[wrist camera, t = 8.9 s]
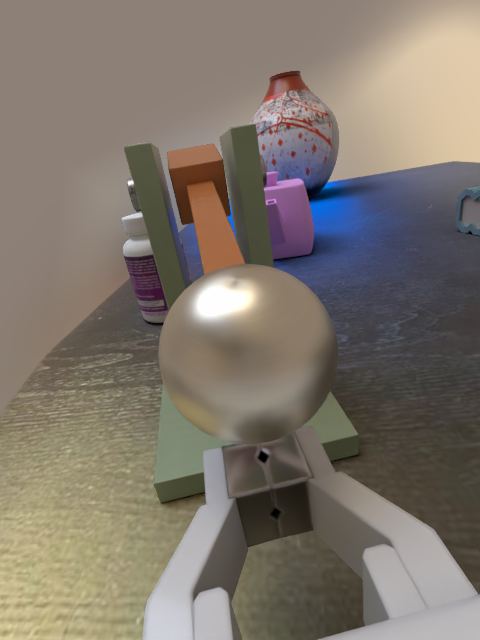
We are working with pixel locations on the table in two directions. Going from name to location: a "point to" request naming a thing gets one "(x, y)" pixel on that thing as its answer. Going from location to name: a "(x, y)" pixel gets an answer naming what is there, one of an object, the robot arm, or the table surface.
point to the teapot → (288, 217)
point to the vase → (296, 133)
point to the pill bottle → (144, 270)
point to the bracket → (255, 245)
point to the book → (469, 211)
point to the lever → (240, 326)
